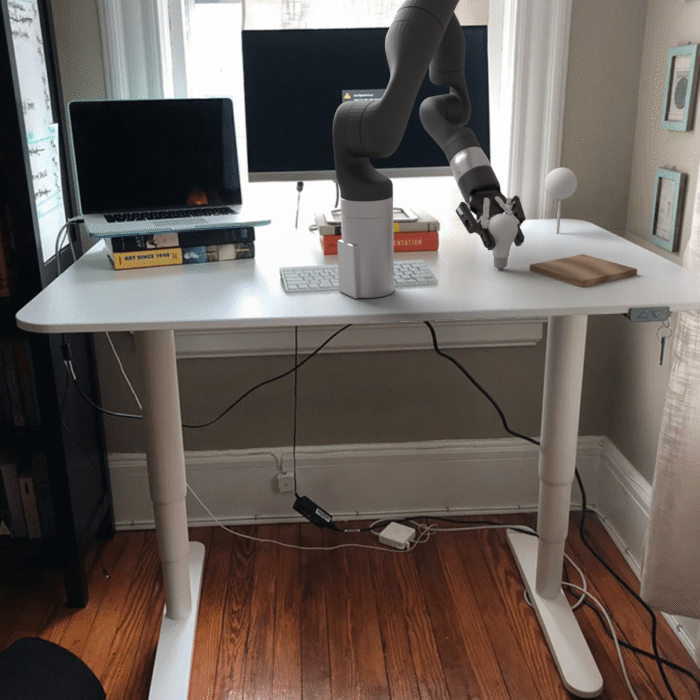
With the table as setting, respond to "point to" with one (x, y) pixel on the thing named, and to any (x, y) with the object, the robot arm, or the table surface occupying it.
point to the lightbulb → (502, 237)
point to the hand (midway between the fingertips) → (506, 245)
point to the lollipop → (560, 187)
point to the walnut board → (583, 270)
